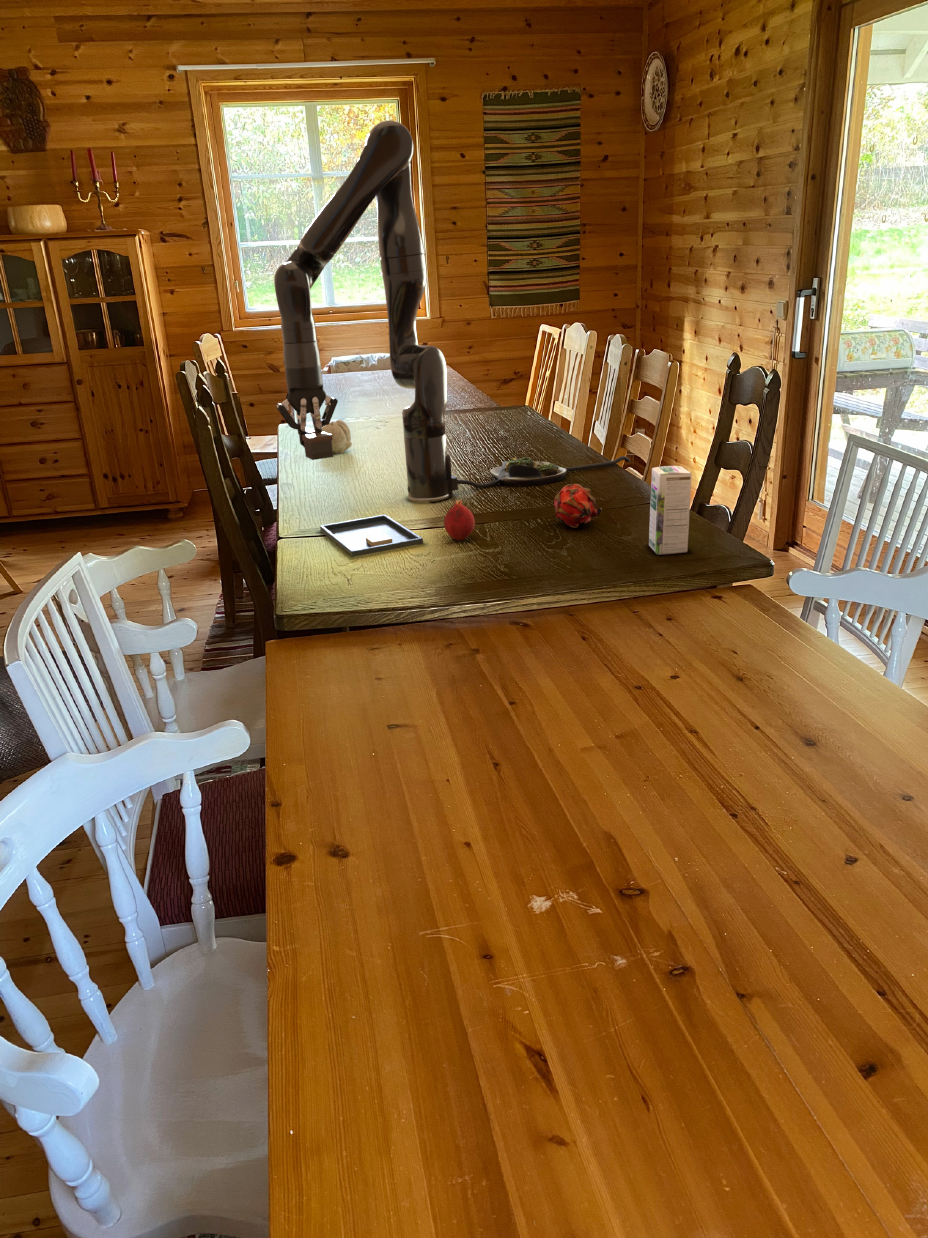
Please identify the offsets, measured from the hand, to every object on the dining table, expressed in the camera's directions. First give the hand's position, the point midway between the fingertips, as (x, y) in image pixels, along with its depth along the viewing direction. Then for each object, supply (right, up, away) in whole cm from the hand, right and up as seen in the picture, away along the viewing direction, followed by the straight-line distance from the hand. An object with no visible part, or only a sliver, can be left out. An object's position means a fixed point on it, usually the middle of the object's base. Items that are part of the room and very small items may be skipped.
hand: (312, 446), depth 198 cm
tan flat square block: (+17, -23, -22) cm, 36 cm away
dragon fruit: (+55, -19, -16) cm, 60 cm away
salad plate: (+48, -4, +22) cm, 53 cm away
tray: (+14, -21, -18) cm, 32 cm away
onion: (+32, -23, -23) cm, 45 cm away
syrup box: (+69, -25, -34) cm, 81 cm away
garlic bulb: (-4, +10, +62) cm, 63 cm away
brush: (0, -2, 0) cm, 2 cm away
